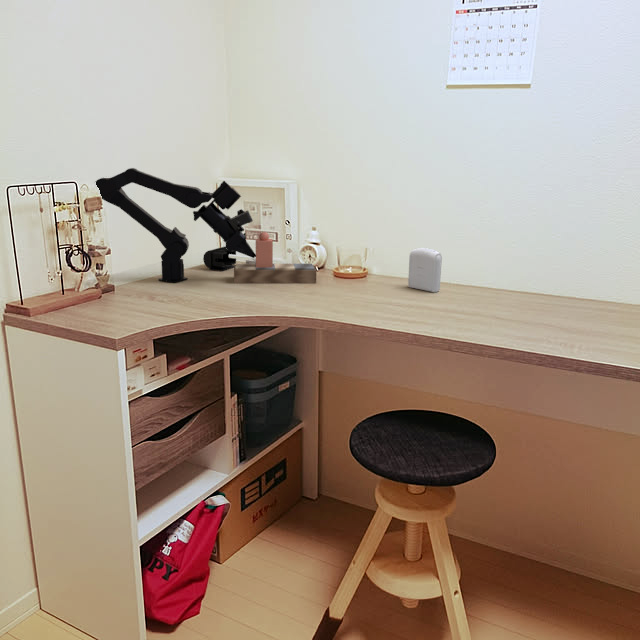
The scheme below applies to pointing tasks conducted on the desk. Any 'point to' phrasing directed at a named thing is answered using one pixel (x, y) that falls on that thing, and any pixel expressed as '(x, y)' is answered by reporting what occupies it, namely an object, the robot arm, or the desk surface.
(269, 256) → the pawn
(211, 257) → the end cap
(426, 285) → the photo printer
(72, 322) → the desk surface
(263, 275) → the track
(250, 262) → the die
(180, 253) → the robot arm
